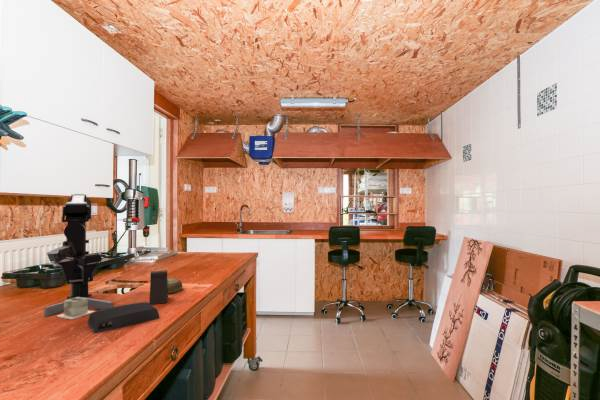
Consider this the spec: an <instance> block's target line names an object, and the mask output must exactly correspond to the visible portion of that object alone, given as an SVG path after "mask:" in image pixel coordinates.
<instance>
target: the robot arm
mask: <svg viewBox="0 0 600 400" xmlns="http://www.w3.org/2000/svg"><path fill="white" fill-rule="evenodd" d="M61 216H62V217H61V222H62V223H67V225H65V228H64V230H63V234H64V236H65V238H66V240H64V241H63V242H62V245H61V246H59V247H56V248H54V249H52V250H49V251H48V252H46V255H47V258H48V260H49V262H51V263H52V262H53V264H55V265H56V266H58V267H59V268H60V269H61V272H62V274H63V277H64V280H65V282H66V285H70V295H68V296H66V298H67V299H70V298H76V297H85V298H88V297H90V296H92V293H89V283H91V282H93V281H94V271H95V268H96V267H97V265H99V264H100V263H101V262H102V260H103V259H102V258H103V257H102V255H101V254H100V253H96V252H95V253H94V252H93V253H90V251H88V250H87V244H89V243H90V241H89V239H87V222H90V220H92V201H91V200H90V199H89V198H88V197H87V194H86V193H73V194H71V196H70V199H68V200H67V201H66V203H65V205H63V206H62V214H61Z"/></svg>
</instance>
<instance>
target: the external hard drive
mask: <svg viewBox="0 0 600 400" xmlns="http://www.w3.org/2000/svg"><path fill="white" fill-rule="evenodd" d="M94 311H95V310H94ZM157 319H160V314H159V311H158V309H157V307H154V305H153V304H152V305H151V304H149V302H148V301H143V302H134V303H127V304H121V305H116V306H113V307H111V308H107V309H103V310H101V309H98V310H96V311H95V312H92V313H91V314H89V316H88V319H87V324H88V327H90V328H89V329H91V331H92V333H93V334H96V333H97V334H98V333H101V332H107V331H110V330H117V329H121V328H124V327H130V326H134V325H137V324H138V325H139V324H142V323H146V322H150V321H153V320H157Z"/></svg>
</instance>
